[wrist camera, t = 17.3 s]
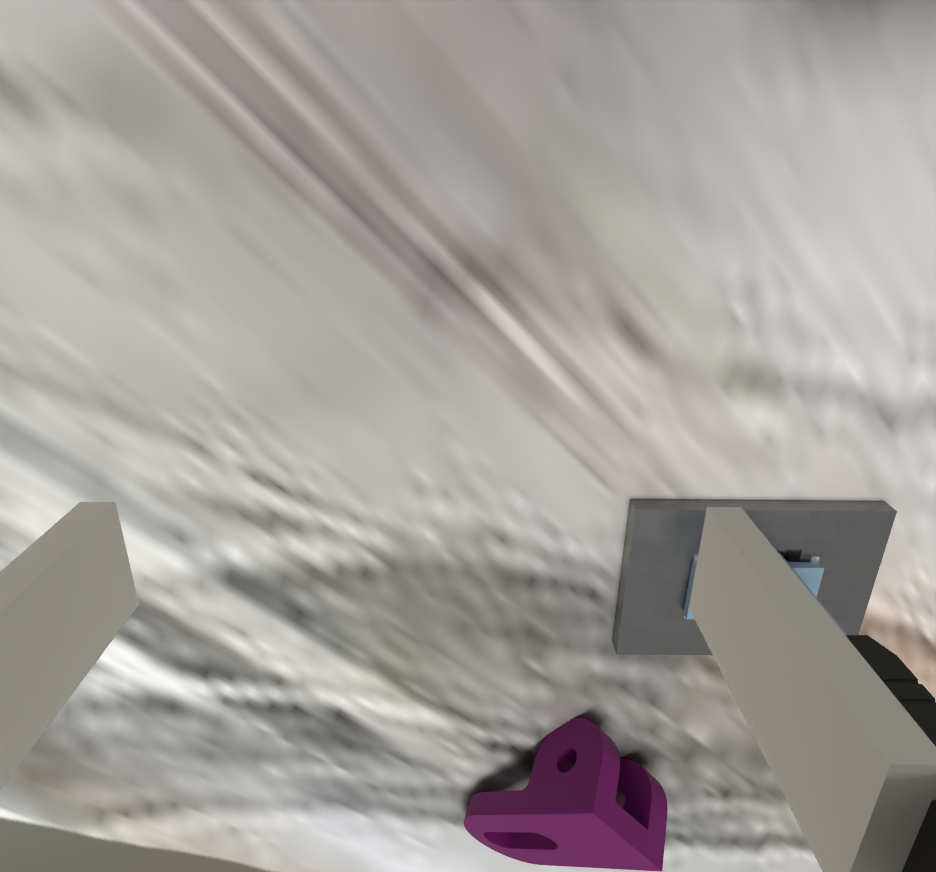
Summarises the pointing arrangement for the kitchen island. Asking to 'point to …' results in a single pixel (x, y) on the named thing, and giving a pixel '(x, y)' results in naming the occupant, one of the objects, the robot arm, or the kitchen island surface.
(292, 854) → the kitchen island surface
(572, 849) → the mounting bracket
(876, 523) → the plate
